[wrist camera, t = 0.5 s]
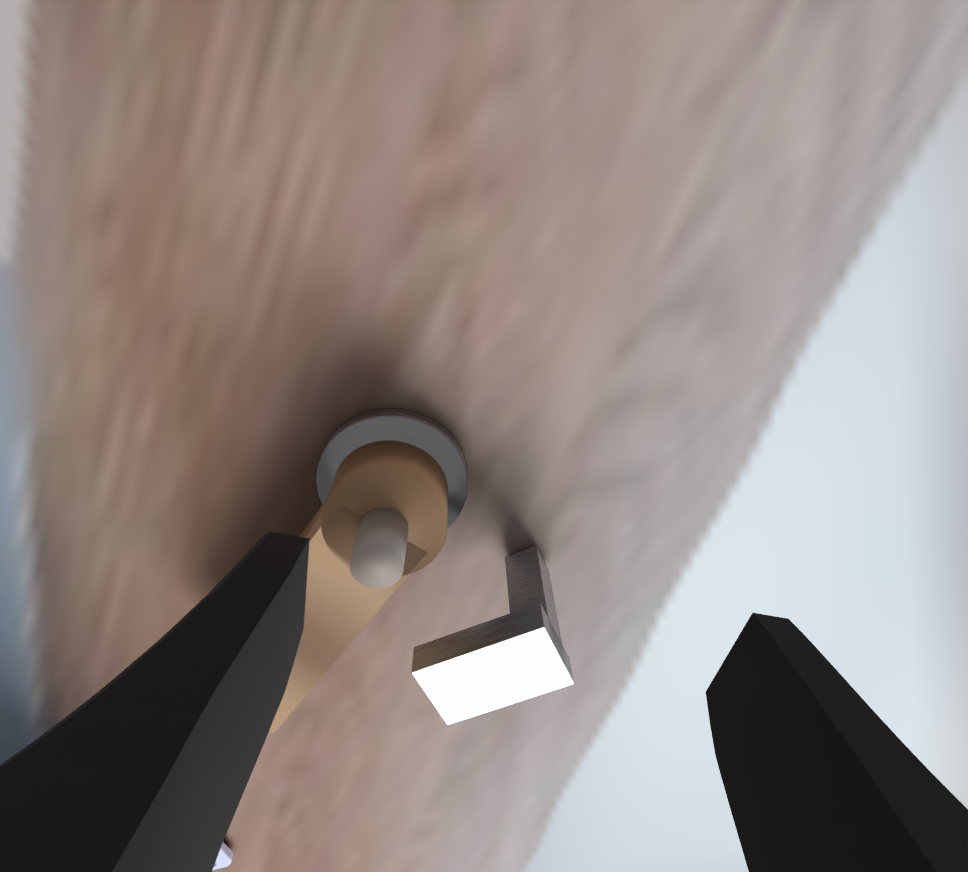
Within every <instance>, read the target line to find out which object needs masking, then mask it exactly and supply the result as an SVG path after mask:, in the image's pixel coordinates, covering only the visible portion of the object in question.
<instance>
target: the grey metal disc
mask: <svg viewBox="0 0 968 872" xmlns="http://www.w3.org/2000/svg"><path fill="white" fill-rule="evenodd" d="M385 440H390V441H400V442H405V443H408V444H411V445H414V446H416V447H418V448H420V449H422V450H424V451H425V452H427V453H428V454H429V455H430V456H432V457H433V458H434V459H435V460H436V461H437V463H438V464H439V465H440V467H441V468H442V470H443V472H444V474H445V476H446V479H447V483H448V512H447V528H448V527H449V526H450V525H451V524H452V523H453V522H454V521H455V520H456V518H457V517H458V515H459V514H460V512H461V510H462V508H463V506H464V502H465V499H466V494H467V467H466V461H465V458H464V455H463V452H462V450H461V448H460V446H459V445H458V443H457V442H456V440H455V439H454V437H453V436H452V435H451V434H450V433H449V432H448V431H447V430H446V429H445V428H444V427H442V426H441V425H440V424H438V423H437V422H435V421H434V420H432V419H430V418H428V417H426V416H424V415H422V414H419V413H416V412H412V411H408V410H403V409H379V410H373V411H369V412H365V413H362V414H360V415H357V416H355V417H353V418H352V419H350V420H348V421H347V422H345V423H344V424H343V425H341V426H340V427H339V428H338V429H337V430H336V431H335V432H334V433H333V435H332V436H331V438H330V439H329V440H328V442H327V444H326V446H325V448H324V451H323V453H322V456H321V458H320V461H319V464H318V468H317V474H316V485H317V491H318V495H319V498H320V501H321V503H322V505H323V503H324V502H325V501H326V499H327V497H328V494H329V491H330V488H331V486H332V483H333V480H334V477H335V474H336V472H337V469H338V467H339V466H340V464H341V462H342V461H343V460H344V459H345V458H346V457H347V456H348V455H349V454H350V453H351V452H352V451H354V450H355V449H357V448H359V447H361V446H363V445H366V444H368V443H372V442H376V441H385Z"/></svg>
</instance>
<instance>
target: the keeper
mask: <svg viewBox="0 0 968 872" xmlns="http://www.w3.org/2000/svg"><path fill="white" fill-rule="evenodd" d="M505 563H506V574H507V585H508V596H509V607H510V614H507V615H505V616H502V617H499V618H496V619H493V620H490V621H488V622H485V623H482V624H479V625H476V626H473V627H470V628H468V629H465V630H462V631H459V632H456V633H453V634H451V635H448V636H445V637H442V638H439V639H436V640H434V641H431V642H428V643H425V644H422V645H419V646H416V647H414V652H413V663H412V674H413V676H414V677H415V679H416V680H417V681H418V683H419V684H420V686H421V687H422V689H423V690H424V692H425V693H426V694H427V696H428V697H429V699H430V700H431V702H432V703H433V705H434V706H435V707H436V709H437V710H438V712H439V713H440V715H441V716H442V718H443V719H444V720H445V722H446V723H447V725H450V724H453V723H456V722H459V721H462V720H465V719H468V718H471V717H474V716H477V715H480V714H483V713H486V712H489V711H492V710H495V709H499V708H502V707H505V706H508V705H511V704H514V703H517V702H520V701H523V700H526V699H529V698H532V697H535V696H538V695H541V694H544V693H547V692H551V691H554V690H557V689H560V688H563V687H566V686H569V685H572V684H574V680H573V675H572V670H571V664H570V659H569V657H568V655H567V653H566V651H565V649H564V647H563V645H562V641H561V636H560V630H559V625H558V619H557V614H556V608H555V603H554V597H553V592H552V586H551V581H550V575H549V570H548V568H547V566H546V564H545V562H544V560H543V558H542V556H541V554H540V552H539V550H538V548H537V546H533V547H531V548H528V549H525V550H523V551H520V552H517V553H514V554H512V555H509V556H506V557H505Z"/></svg>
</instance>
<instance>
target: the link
mask: <svg viewBox="0 0 968 872" xmlns="http://www.w3.org/2000/svg"><path fill="white" fill-rule="evenodd" d="M447 512H448V483H447V479H446V476H445V474H444V472H443V470H442V468H441V467H440V465H439V464H438V463H437V461H436V460H435V459H434V458H433V457H432V456H430V455H429V454H428V453H427V452H425V451H424V450H422V449H420V448H418V447H416V446H414V445H411V444H408V443H405V442H400V441H390V440H385V441H376V442H372V443H368V444H366V445H363V446H361V447H359V448H357V449H355V450H354V451H352V452H351V453H350V454H349V455H348V456H347V457H346V458H345V459H344V460H343V461H342V462H341V464H340V466H339V467H338V469H337V472H336V474H335V477H334V480H333V483H332V486H331V488H330V491H329V494H328V497H327V499H326V501H325V502H324V503H323V505H322V506H321V507H320V509H319V510H318V512H317V513H316V514H315V516H314V517H313V518H312V520H311V521H310V522H309V524H308V525H307V527H306V528H305V529H304V531H303V532H302V533H301V535H300V536H299V537H303V538H309V539H310V540H309V555H308V570H307V586H306V601H305V616H304V629H303V633H302V636H301V640H300V643H299V647H298V650H297V653H296V657H295V660H294V664H293V667H292V670H291V674H290V677H289V680H288V684H287V687H286V690H285V693H284V695H283V698H282V700H281V703H280V705H279V708H278V710H277V712H276V715H275V717H274V720H273V722H272V725H271V727H270V729H269V731H271V732H273V733H274V732H275V731H276V730H277V729H278V728H279V726H280V725H281V724H282V723H283V722H284V721H285V719H286V718H287V717H288V716H289V715H290V714H291V712H292V711H293V710H294V709H295V708H296V706H297V705H298V704H299V703H300V702H301V701H302V699H303V698H304V697H305V696H306V695H307V693H308V692H309V691H310V690H311V689H312V688H313V686H314V685H315V684H316V683H317V682H318V681H319V679H320V678H321V677H322V676H323V675H324V673H325V672H326V671H327V670H328V669H329V668H330V666H331V665H332V664H333V663H334V662H335V661H336V659H337V658H338V657H339V656H340V655H341V653H342V652H343V651H344V650H345V649H346V648H347V646H348V645H349V644H350V643H351V642H352V641H353V639H354V638H355V637H356V636H357V635H358V633H359V632H360V631H361V630H362V629H363V628H364V626H365V625H366V624H367V623H368V622H369V621H370V619H371V618H372V617H373V616H374V615H375V613H376V612H377V611H378V610H379V609H380V608H381V606H382V605H383V604H384V603H385V602H386V600H387V599H388V598H389V597H390V596H391V595H392V593H393V592H394V591H395V590H396V589H397V588H398V586H399V585H400V584H401V583H402V582H403V580H404V579H405V578H406V577H407V576H408V575H409V574H410V573H413V572H416V571H418V570H420V569H422V568H423V567H425V566H426V565H428V564H429V563H430V562H431V561H432V560H433V559H434V558H435V557H436V556H437V555H438V553H439V552H440V551H441V549H442V547H443V545H444V542H445V539H446V533H447Z"/></svg>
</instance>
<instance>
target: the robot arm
mask: <svg viewBox="0 0 968 872" xmlns="http://www.w3.org/2000/svg"><path fill="white" fill-rule="evenodd" d="M309 540H310V539H309V538H303V537H297V536H291V535H285V534H279V533H273V532H269V533H268V534H266V535H264V536H263V537H262V538H261V539H260V540H259V541H258V542H257V543H256V544H255V546H254V547H253V548H252V549H251V550H250V551H249V552H248V553H247V554H246V555H245V556H244V558H243V559H242V560H241V561H240V562H239V563H238V564H237V565H236V566H235V567H234V568H233V569H232V570H231V571H230V572H229V573H228V574H227V575H226V576H225V577H224V579H223V580H222V581H221V582H220V583H219V584H218V585H217V586H216V587H215V588H214V589H213V590H212V591H211V592H210V593H209V594H208V595H207V596H206V597H205V598H203V599H202V600H201V601H200V602H199V603H198V604H197V605H196V606H195V607H194V608H193V609H192V610H191V611H190V612H189V613H188V614H187V615H186V616H184V617H183V618H182V619H181V620H180V621H179V622H178V623H177V624H176V625H175V626H174V627H173V628H172V629H171V630H170V631H169V632H167V633H166V634H165V635H164V636H163V637H162V638H161V639H160V640H159V641H158V642H156V643H155V644H154V645H153V646H152V647H151V648H149V649H148V650H147V651H146V652H145V653H144V654H142V655H141V656H140V657H139V658H138V659H137V660H135V661H134V662H133V663H132V664H131V665H130V666H128V667H127V668H126V669H125V670H124V671H123V672H121V673H120V674H119V675H118V676H117V677H116V678H114V679H113V680H112V681H111V682H110V683H109V684H107V685H106V686H105V687H104V688H102V689H101V690H100V691H99V692H97V693H96V694H95V695H94V696H92V697H91V698H90V699H89V700H87V701H86V702H85V703H84V704H82V705H81V706H80V707H79V708H77V709H76V710H75V711H73V712H72V713H71V714H70V715H68V716H67V717H66V718H64V719H63V720H62V721H60V722H59V723H58V724H56V725H55V726H54V727H52V728H51V729H50V730H48V731H47V732H46V733H44V734H43V735H42V736H40V737H39V738H38V739H36V740H35V741H34V742H32V743H31V744H30V745H28V746H27V747H26V748H24V749H23V750H21V751H20V752H19V753H17V754H16V755H14V756H13V757H11V758H10V759H9V760H7V761H6V762H4V763H3V764H1V765H0V872H212V870H215V869H219V868H223V867H226V866H229V865H230V864H231V861H232V858H233V853H232V851H231V850H230V849H229V848H228V847H227V845H226V844H225V843H224V842H223V840H224V838H225V835H226V833H227V831H228V828H229V826H230V823H231V821H232V819H233V816H234V814H235V811H236V809H237V806H238V804H239V802H240V799H241V797H242V794H243V792H244V790H245V787H246V785H247V782H248V780H249V778H250V775H251V773H252V770H253V768H254V766H255V763H256V761H257V758H258V756H259V754H260V751H261V749H262V746H263V744H264V742H265V739H266V737H267V734H268V732H269V729H270V727H271V725H272V722H273V720H274V717H275V715H276V712H277V710H278V708H279V705H280V703H281V700H282V698H283V695H284V693H285V690H286V687H287V684H288V680H289V677H290V674H291V670H292V667H293V664H294V660H295V657H296V653H297V650H298V647H299V643H300V640H301V636H302V633H303V629H304V616H305V601H306V586H307V570H308V555H309ZM706 696H707V704H708V711H709V718H710V725H711V731H712V737H713V743H714V748H715V754H716V758H717V762H718V766H719V769H720V773H721V777H722V780H723V784H724V787H725V790H726V794H727V798H728V801H729V805H730V808H731V812H732V815H733V819H734V822H735V826H736V828H737V832H738V836H739V839H740V842H741V846H742V849H743V853H744V856H745V860H746V863H747V867H748V870H749V872H968V809H967V808H966V807H965V806H964V805H963V804H962V803H961V802H959V800H958V799H957V798H956V797H955V796H954V795H953V794H952V793H951V792H950V791H949V790H947V788H945V786H944V785H943V784H942V783H941V782H940V781H939V780H938V779H937V778H936V777H935V776H934V775H933V774H932V773H931V772H930V771H929V770H928V769H927V768H926V767H925V766H924V765H923V764H922V763H921V762H920V761H919V760H918V759H917V757H916V756H915V755H913V753H912V752H911V751H910V750H909V749H908V748H907V747H906V746H905V745H904V744H903V743H902V742H901V740H899V738H898V737H897V736H896V735H895V734H894V733H893V732H892V731H891V730H890V729H889V728H888V726H887V725H886V724H885V723H884V722H883V721H882V720H881V719H880V718H879V717H878V716H877V715H876V714H875V712H874V711H873V710H872V709H871V708H870V707H869V706H868V705H867V704H866V703H865V701H864V700H863V699H862V698H861V697H860V696H859V695H858V694H857V692H856V691H855V690H854V689H853V688H852V687H851V686H850V685H849V684H848V682H847V681H846V680H845V679H844V678H843V677H842V676H841V675H840V674H839V673H838V671H837V670H836V669H835V668H834V667H833V666H832V665H831V664H830V663H829V661H828V660H827V659H826V658H825V657H824V656H823V655H822V654H821V653H820V652H819V651H818V649H817V648H816V647H815V646H814V645H813V644H812V643H811V642H810V641H809V640H808V639H807V638H806V636H805V635H804V634H803V633H802V632H801V631H800V630H799V629H798V628H797V627H796V626H795V625H794V624H793V623H792V622H791V621H790V620H789V619H786V618H780V617H774V616H768V615H762V614H756V613H753V614H752V615H751V617H750V618H749V620H748V622H747V623H746V625H745V627H744V628H743V630H742V632H741V634H740V635H739V637H738V639H737V640H736V642H735V644H734V645H733V647H732V649H731V650H730V652H729V654H728V655H727V657H726V659H725V661H724V662H723V664H722V666H721V667H720V669H719V671H718V672H717V674H716V676H715V677H714V679H713V681H712V682H711V684H710V686H709V687H708V689H707V691H706Z"/></svg>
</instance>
